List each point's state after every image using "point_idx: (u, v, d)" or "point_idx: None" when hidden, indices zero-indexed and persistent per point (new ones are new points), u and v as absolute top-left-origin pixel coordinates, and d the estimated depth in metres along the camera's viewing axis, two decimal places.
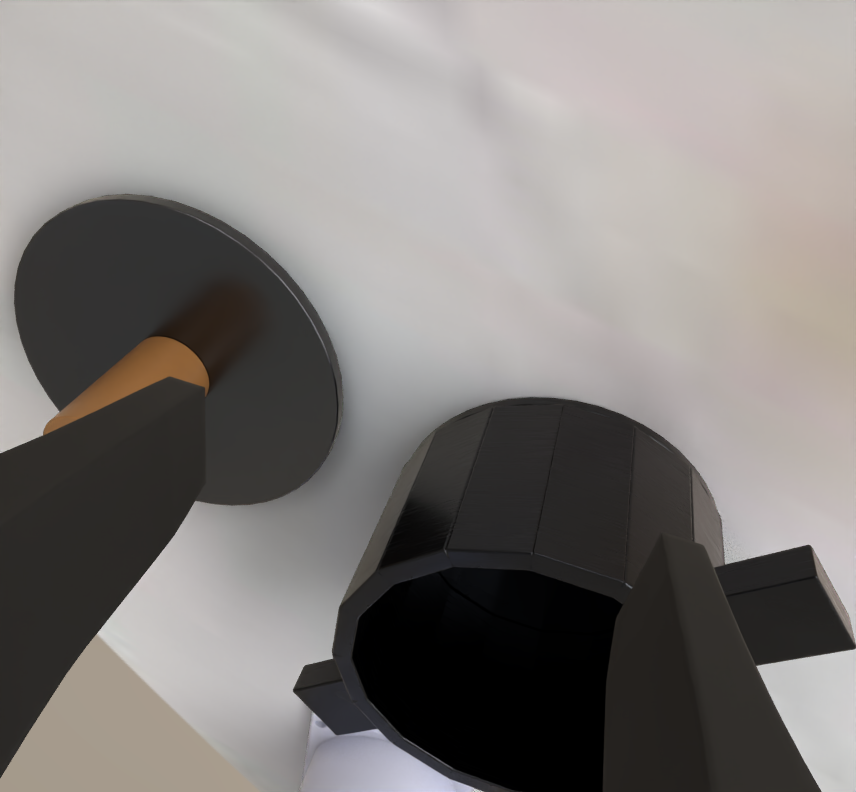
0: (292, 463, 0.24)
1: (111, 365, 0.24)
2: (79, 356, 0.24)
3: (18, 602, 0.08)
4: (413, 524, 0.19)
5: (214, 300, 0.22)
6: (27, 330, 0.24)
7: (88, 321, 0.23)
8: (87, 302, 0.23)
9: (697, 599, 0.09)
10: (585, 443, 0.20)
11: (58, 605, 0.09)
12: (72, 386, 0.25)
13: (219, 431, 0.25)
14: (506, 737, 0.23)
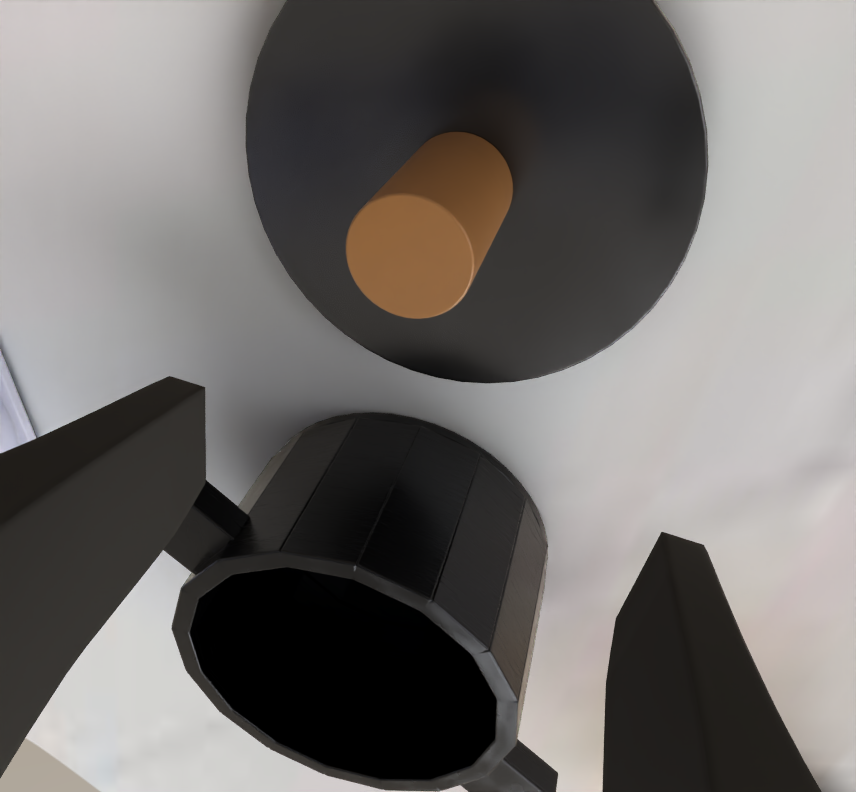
0: (383, 332, 0.21)
1: (435, 89, 0.17)
2: (432, 33, 0.16)
3: (18, 602, 0.08)
4: (463, 576, 0.20)
5: (585, 252, 0.18)
6: None
7: (500, 58, 0.16)
8: (533, 61, 0.16)
9: (697, 599, 0.09)
10: (540, 594, 0.24)
11: (58, 605, 0.09)
12: (370, 11, 0.16)
13: None
14: (223, 622, 0.24)
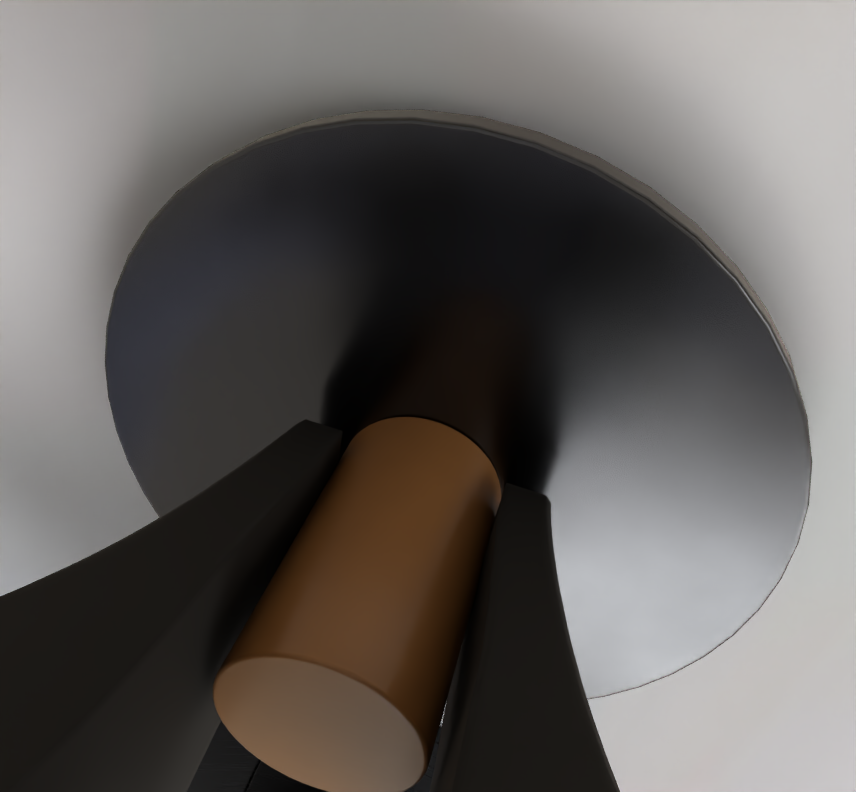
0: None
1: (383, 361, 0.11)
2: (376, 287, 0.10)
3: (196, 666, 0.08)
4: None
5: (607, 582, 0.12)
6: (399, 152, 0.09)
7: (485, 332, 0.10)
8: (537, 341, 0.10)
9: (518, 541, 0.09)
10: None
11: (220, 663, 0.09)
12: (278, 248, 0.10)
13: None
14: None
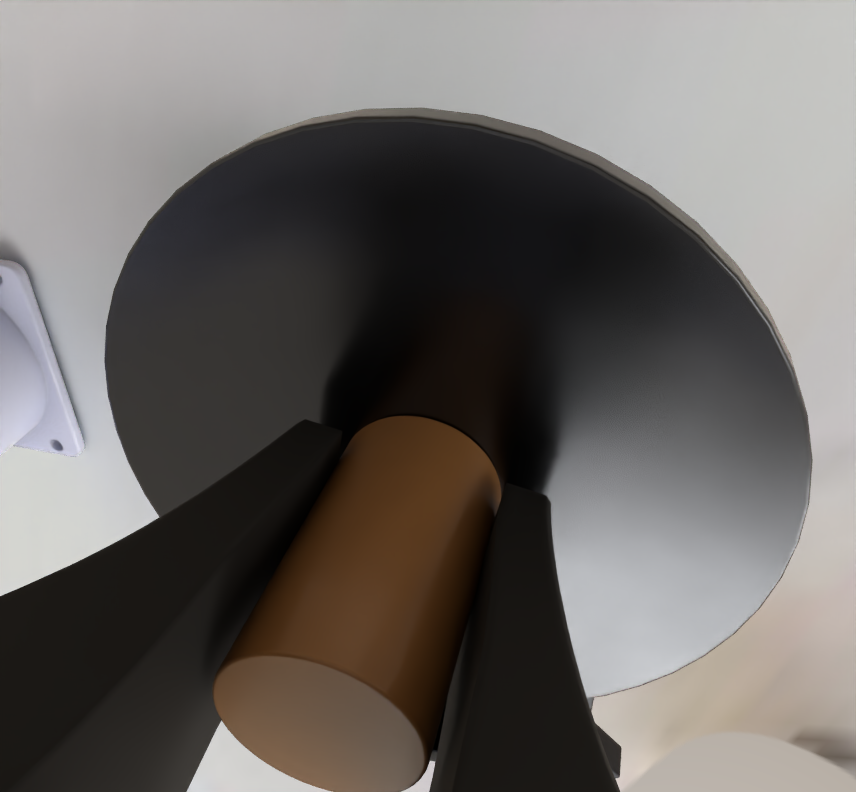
0: None
1: (383, 360, 0.11)
2: (376, 286, 0.10)
3: (196, 666, 0.08)
4: None
5: (607, 581, 0.12)
6: (398, 149, 0.09)
7: (484, 331, 0.10)
8: (536, 340, 0.10)
9: (518, 541, 0.09)
10: None
11: (220, 663, 0.09)
12: (277, 247, 0.10)
13: None
14: None
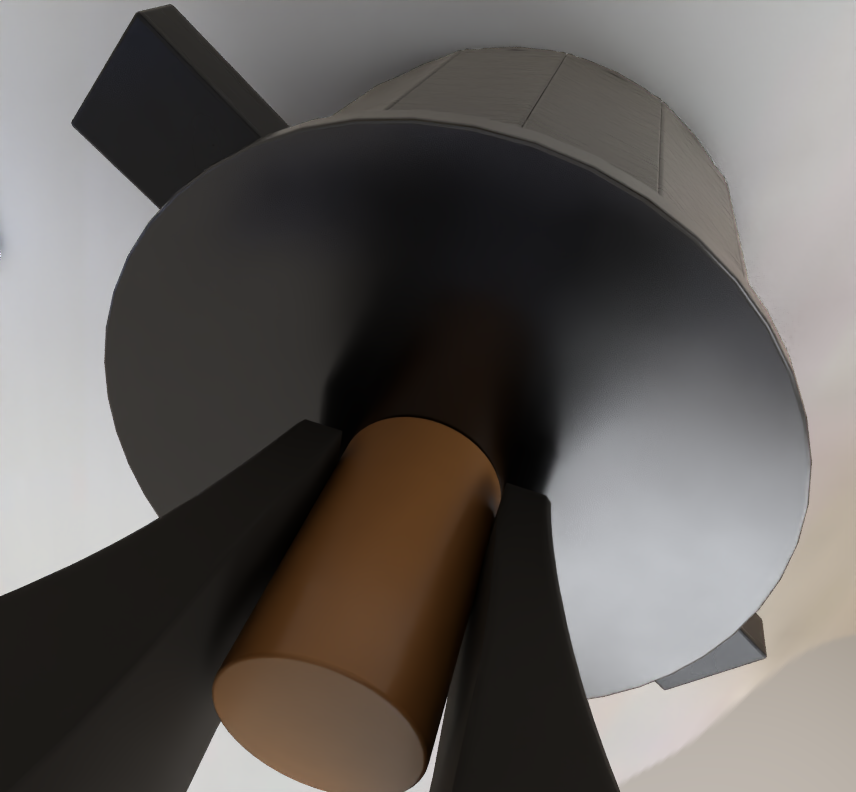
0: None
1: (383, 361, 0.11)
2: (375, 287, 0.10)
3: (196, 666, 0.08)
4: (689, 205, 0.11)
5: (607, 582, 0.12)
6: (398, 151, 0.09)
7: (484, 332, 0.10)
8: (536, 341, 0.10)
9: (518, 541, 0.09)
10: None
11: (220, 663, 0.09)
12: (277, 248, 0.10)
13: None
14: None
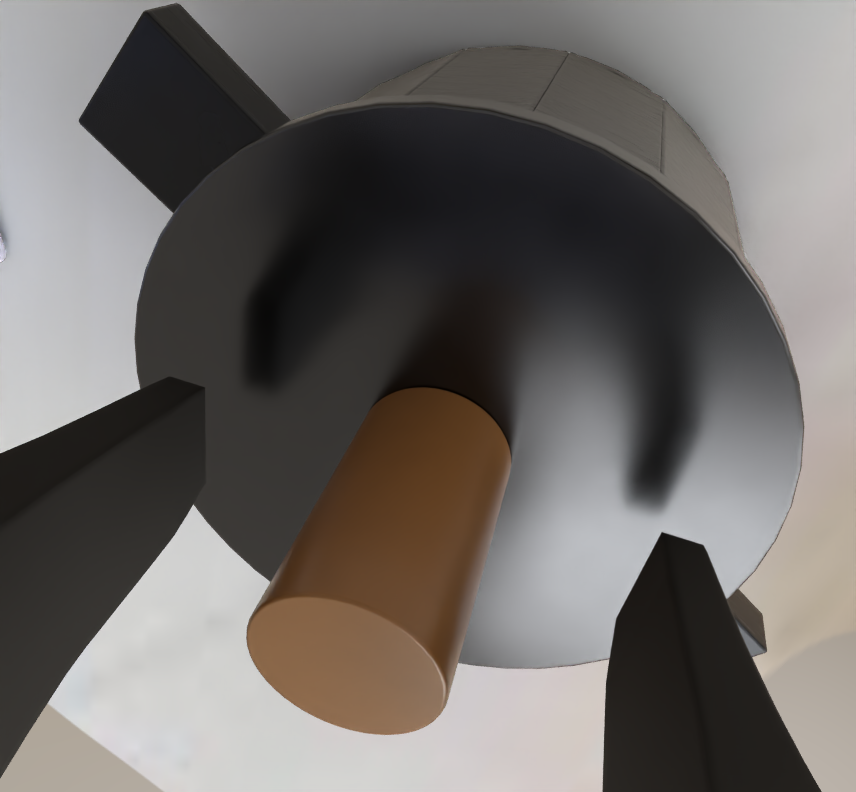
0: None
1: (401, 334, 0.11)
2: (395, 263, 0.11)
3: (18, 602, 0.08)
4: None
5: (611, 546, 0.13)
6: (417, 134, 0.10)
7: (497, 305, 0.11)
8: (546, 313, 0.11)
9: (697, 599, 0.09)
10: None
11: (58, 605, 0.09)
12: (302, 226, 0.11)
13: None
14: None
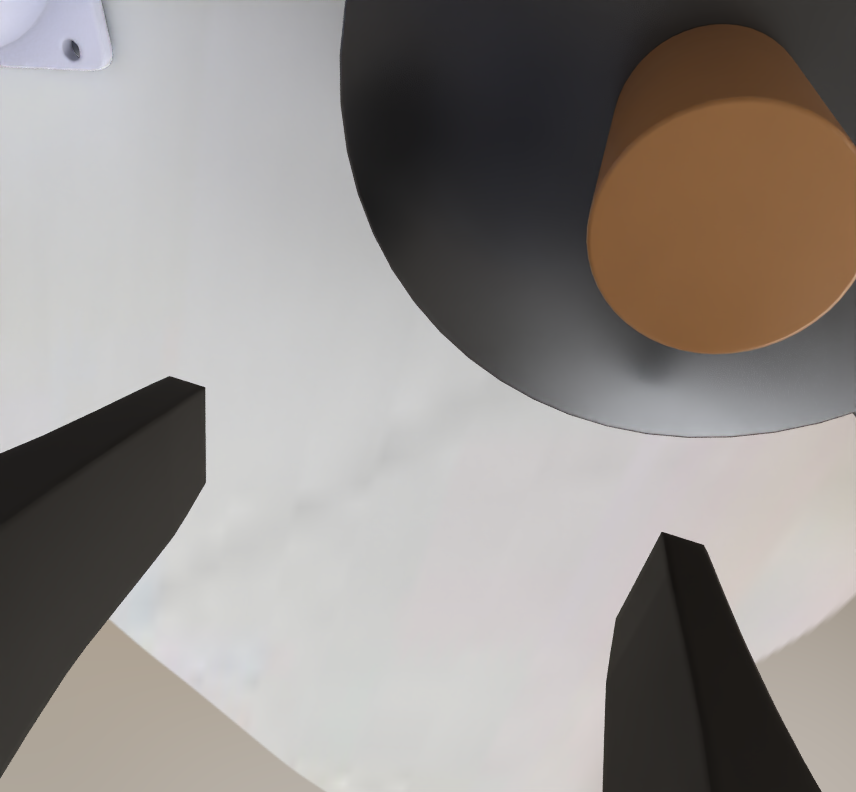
0: (532, 358, 0.14)
1: None
2: None
3: (18, 602, 0.08)
4: None
5: None
6: None
7: None
8: None
9: (697, 599, 0.09)
10: None
11: (58, 605, 0.09)
12: None
13: (564, 222, 0.12)
14: None
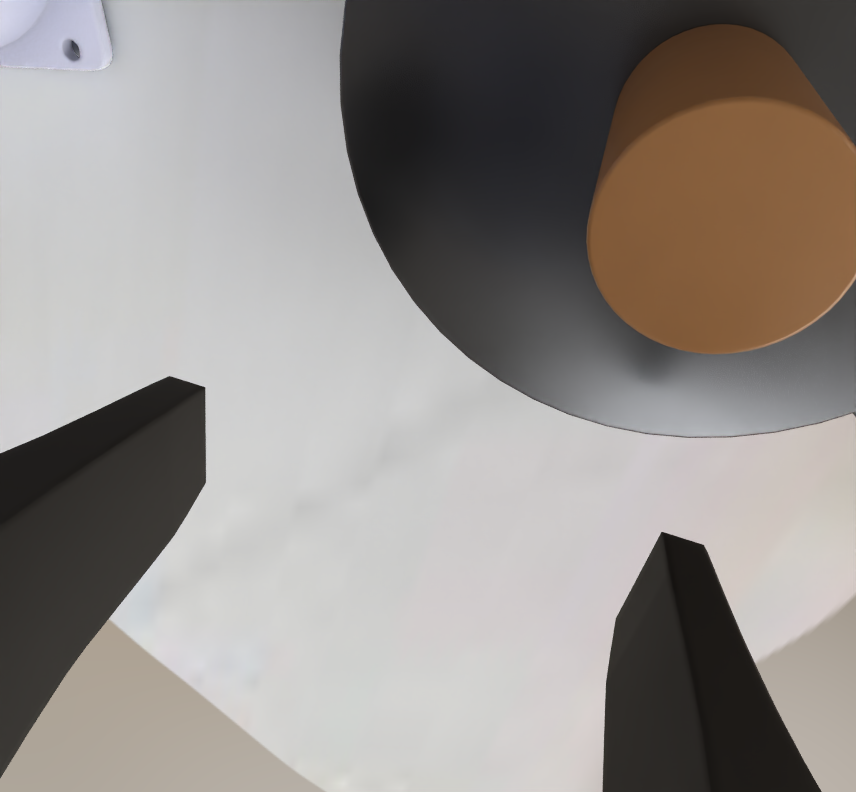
0: (532, 358, 0.14)
1: None
2: None
3: (18, 602, 0.08)
4: None
5: None
6: None
7: None
8: None
9: (697, 599, 0.09)
10: None
11: (58, 605, 0.09)
12: None
13: (564, 222, 0.12)
14: None
